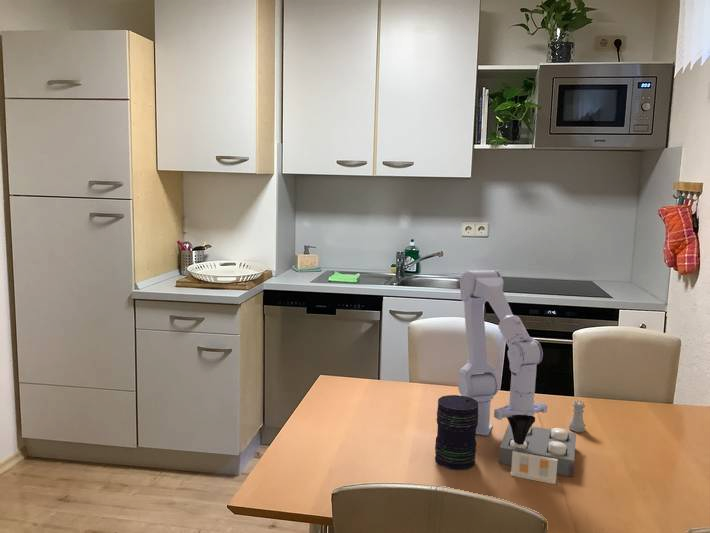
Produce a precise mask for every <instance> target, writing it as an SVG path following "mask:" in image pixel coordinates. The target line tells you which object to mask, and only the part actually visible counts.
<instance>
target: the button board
mask: <svg viewBox="0 0 710 533" xmlns="http://www.w3.org/2000/svg"><path fill="white" fill-rule="evenodd" d="M551 429H552V428H551ZM551 429H550V428H546V427H545V428H544V427H538V426H533V425H532V426H531V435H526V438H525V442H526V443H527V449H523V448H517V447H512V446H510V441H511V440H514V438H513V433H512V429H511V426H510V423H509V422H508V424H507V427H506V429H505V433H504V434H503V437H502V440H501V443H500V445H499V453H498V464H503V465H509V466H512V452H513V451H515V452H521V453H526V454H532V455H537V456H542V457H548V458H553V459H558V461H557V474H556V475H561V476H565V477H567V476H568V477H571V478H573V475H574V466H575V456H576V455H575V454H576V453H575V452H576V443H577V442H576V441H577V433H576V432H575V433H574V432H570V431H568V438H567V441H561V440H555V439H551ZM552 441H557V442H562V443H564V444H565V445H566V456H562V455H556V454H551V453H548V447H549V442H552Z"/></svg>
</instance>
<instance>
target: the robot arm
mask: <svg viewBox="0 0 710 533" xmlns="http://www.w3.org/2000/svg"><path fill="white" fill-rule="evenodd" d="M504 284H505V282H504V279H503V277H502V274H501V272H500V271H499V270H497V269H491V270H490V269H489V270H469V269H468V270H465V271H463V273H462V275H461V277H460V278H459V288H460V300H461V301H462V302H463V308H464V323H465V324H464V326H465V338H466V353H467V363H465V365H464V366H462V367H461V368H460V370H459V374H458V382H457V388H458V392H459V394H458V395H459V396H466V397H469V398H472V399H474V400H476V401H477V402H478V425H477V428H476V435H479V436H489V434H490V432H491V430H492V427H493V424H492V423H490V421H491V420H490V418H491V407H492V405H491V403H492V400H494V397H495V396H496V395H497V393H498V391H499V387H500V386H499V385H500V384H499V383H500V382H499V379H498V378H497V373H496V368H495V367H494V366H492V365H491V363H489V362H488V355H487V354H488V353H487V340H486V339H487V338H486V328H485V327H486V326H485V313H484V312H485V311H484V305H485V303H486V302H488V303H489V306H490V307H491V308H492V311H494V313H495V315H496V316H497V318H498V320H499V323H498V329H499V331H500V334H501V335H502V337H503V339H504V342H506V345H507V347H508V350H507V358H508V362H509V370H510V371H511V372H510V373H511V376H510V377H511V378H510V387H509V388H510V389H509V404H507V405H504V406H502V407H498V408H495V409H494V411H493V417H494V418H495V419H497V420H498V421H501V420H503V419H504V418H506V419H507V422H508V424H509V423H510V426H511V429H512V433H513V438H514V442H515V443H517V444H519V445H521V444H524V441H525V438H526V435H527V433H528V431H529V429H530V427H531V426H533V424H534V423H535V422H536V417H535V414H537V413H543V414H545V413H548V404H546V403H544V402H535V395H536V394H535V392H536V381H537V380H536V378H537V365H539V364H540V363H542V360H543V356H544V352H543V348H542V345H541V343H540V342H539V341H538V340H536V339H534V337H532V336H530V335H529V333H528V331H527V329H526V327H525V325H524V323H523V322H522V319H521V318H520V316H518V315H514V314H513V311H512V309H511V307H510V305H509V302H508V300H507V298H506V295H505V293H504V291H503V289H504Z"/></svg>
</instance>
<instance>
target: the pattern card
mask: <svg viewBox="0 0 710 533" xmlns="http://www.w3.org/2000/svg"><path fill="white" fill-rule="evenodd" d="M557 461H558V459H553V458H548V457H542V456H537V455H532V454H526V453H521V452H515V451H513V452H512V465H510V466H511V467H510V468H511V469H510V475H509V476H511V477H517V478H521V479H527V480H532V481H535V482H542V483H547V484H552V485H556V483H557V475H558V474H557Z"/></svg>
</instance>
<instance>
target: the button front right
mask: <svg viewBox="0 0 710 533" xmlns="http://www.w3.org/2000/svg"><path fill="white" fill-rule="evenodd" d="M547 453H551V454H556V455H562V456H567V453H566V445H565V444H564V443H562V442H557V441H552V442H549V447H548V449H547Z"/></svg>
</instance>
